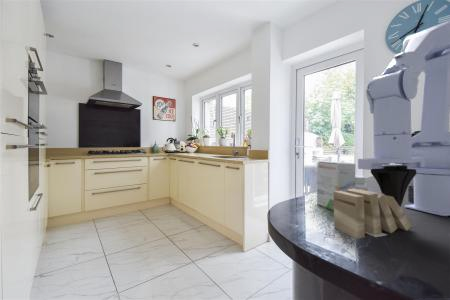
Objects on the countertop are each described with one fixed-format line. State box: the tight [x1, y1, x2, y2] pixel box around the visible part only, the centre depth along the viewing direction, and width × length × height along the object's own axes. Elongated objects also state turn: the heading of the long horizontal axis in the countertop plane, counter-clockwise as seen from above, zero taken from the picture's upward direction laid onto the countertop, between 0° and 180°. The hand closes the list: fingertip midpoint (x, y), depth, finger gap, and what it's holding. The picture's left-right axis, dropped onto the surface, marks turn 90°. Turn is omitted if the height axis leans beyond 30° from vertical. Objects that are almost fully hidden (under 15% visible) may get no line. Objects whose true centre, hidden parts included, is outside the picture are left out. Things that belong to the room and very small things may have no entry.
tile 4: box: [333, 191, 366, 240], centre depth 37 cm, size 2×5×7 cm, turn 15°
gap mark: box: [365, 231, 387, 238], centre depth 38 cm, size 3×6×1 cm, turn 15°
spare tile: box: [346, 189, 383, 235], centre depth 38 cm, size 2×5×7 cm, turn 15°
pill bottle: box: [355, 175, 369, 191], centre depth 55 cm, size 4×4×8 cm
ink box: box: [316, 161, 356, 212], centre depth 54 cm, size 9×5×12 cm, turn 9°
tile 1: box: [385, 195, 413, 232], centre depth 40 cm, size 2×5×7 cm
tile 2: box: [359, 189, 398, 234], centre depth 39 cm, size 2×5×7 cm, turn 15°
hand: (393, 205), depth 40 cm, fingers closed
